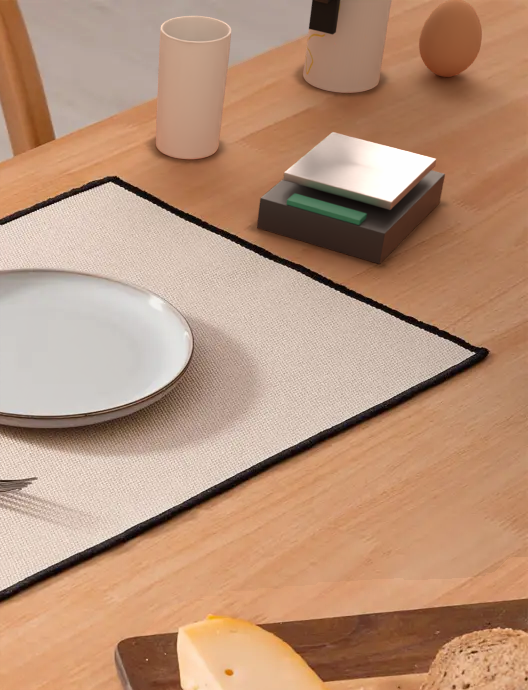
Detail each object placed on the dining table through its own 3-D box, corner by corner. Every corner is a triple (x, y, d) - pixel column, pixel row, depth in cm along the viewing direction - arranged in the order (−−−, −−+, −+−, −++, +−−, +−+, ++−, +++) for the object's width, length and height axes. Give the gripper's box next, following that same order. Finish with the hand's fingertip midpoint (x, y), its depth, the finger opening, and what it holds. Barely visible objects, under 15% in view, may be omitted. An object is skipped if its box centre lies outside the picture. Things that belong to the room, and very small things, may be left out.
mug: (213, 165, 151) (224, 45, 144) (146, 156, 153) (153, 37, 145) (232, 123, 159) (243, 8, 152) (167, 115, 160) (175, 0, 153)
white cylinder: (299, 62, 172) (312, -48, 164) (373, 63, 171) (389, -46, 164) (307, 92, 165) (321, -21, 158) (384, 93, 165) (401, -20, 158)
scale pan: (435, 166, 143) (436, 158, 142) (390, 210, 136) (391, 202, 135) (331, 139, 147) (332, 131, 147) (282, 180, 140) (283, 172, 140)
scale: (439, 203, 145) (446, 169, 143) (379, 264, 136) (385, 228, 134) (322, 171, 150) (326, 137, 148) (256, 227, 141) (260, 193, 139)
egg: (414, 61, 172) (426, -13, 167) (474, 66, 171) (488, -9, 166) (413, 83, 167) (426, 8, 162) (474, 89, 166) (489, 13, 161)
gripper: (394, -237, 160) (365, -32, 174) (288, -182, 144) (264, 40, 157) (464, -226, 157) (428, -18, 170) (363, -169, 141) (332, 56, 154)
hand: (349, 10), depth 164 cm, fingers open, 13 cm apart
